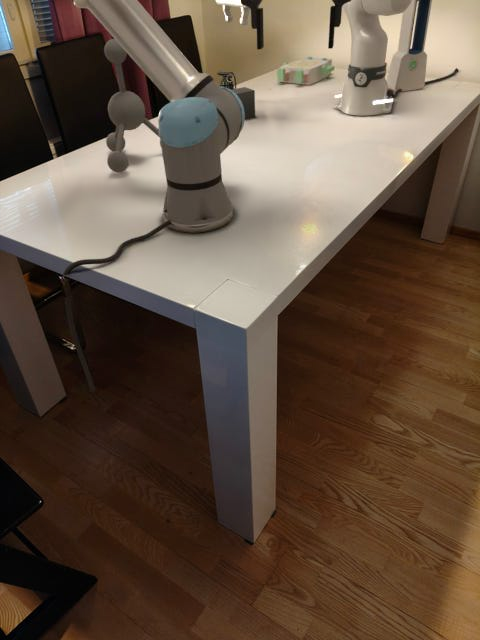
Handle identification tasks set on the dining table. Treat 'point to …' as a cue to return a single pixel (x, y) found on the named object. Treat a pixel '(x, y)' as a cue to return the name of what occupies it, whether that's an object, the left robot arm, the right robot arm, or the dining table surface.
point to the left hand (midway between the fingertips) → (295, 48)
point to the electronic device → (411, 62)
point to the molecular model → (122, 111)
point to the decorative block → (305, 71)
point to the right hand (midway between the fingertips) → (236, 23)
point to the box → (247, 101)
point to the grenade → (227, 79)
